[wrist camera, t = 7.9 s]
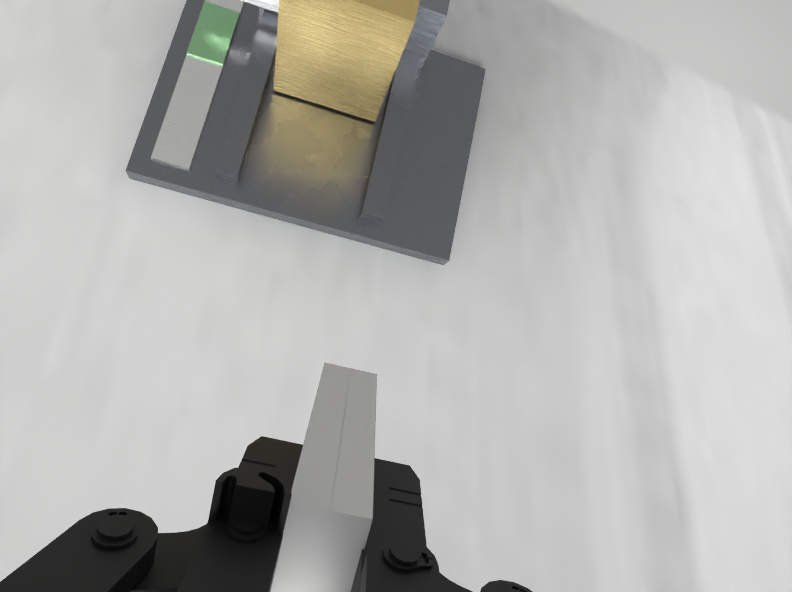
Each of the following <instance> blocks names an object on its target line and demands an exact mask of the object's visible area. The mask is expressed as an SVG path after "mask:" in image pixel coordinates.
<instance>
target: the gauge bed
mask: <svg viewBox="0 0 792 592" xmlns="http://www.w3.org/2000/svg"><path fill="white" fill-rule="evenodd" d="M449 1H450V0H420V2H419V7H418V11H417V15H416V19H415V23H414V26H413V28H412V31H411V33H410V36H409V38H408V41H407V43H406V46H405V48H404V51H403V53H402V56H401V58H400V61H399V63H398V66H397V68H396V71H395V73H394V76H393V78H392V81H391V83H390V86H389V88H388V91H387V93H386V96H385V98H384V101H383V103H382V106H381V108H380V111H379V113H378V116H377V118H376V121H375V122H373V121H370V120H367V119H363V118H360V117H357V116H354V115H351V114H348V113H344V112H341V111H338V110H335V109H332V108H328V107H325V106H322V105H319V104H316V103H313V102H309V101H306V100H303V99H300V98H297V97H293V96H290V95H287V94H284V93H281V92H277V91H274V90H273V89H274V73H275V58H276V42H277V26H278V13H277V12H274V11H271V10H268V9H265V8H262V7H259V6H256V5H253V4H250V3H247V2H244V1H241V0H187V1H186V4H185V7H184V10H183V12H182V15H181V18H180V21H179V23H178V26H177V29H176V32H175V35H174V37H173V40H172V43H171V46H170V49H169V51H168V54H167V57H166V60H165V63H164V65H163V68H162V71H161V74H160V77H159V79H158V82H157V85H156V88H155V90H154V93H153V96H152V99H151V102H150V104H149V107H148V110H147V113H146V116H145V118H144V121H143V124H142V127H141V130H140V132H139V135H138V138H137V141H136V143H135V146H134V149H133V152H132V155H131V157H130V160H129V163H128V166H127V169H126V172H127V174H128V176H129V178H130V179H134V180H137V181H141V182H145V183H148V184H152V185H156V186H159V187H163V188H166V189H170V190H174V191H177V192H181V193H185V194H188V195H192V196H195V197H199V198H203V199H206V200H210V201H214V202H217V203H221V204H224V205H228V206H232V207H235V208H239V209H242V210H246V211H250V212H253V213H257V214H261V215H264V216H268V217H271V218H275V219H279V220H282V221H286V222H290V223H293V224H297V225H300V226H304V227H308V228H311V229H315V230H319V231H322V232H326V233H329V234H333V235H337V236H340V237H344V238H347V239H351V240H355V241H358V242H362V243H366V244H369V245H373V246H376V247H380V248H384V249H387V250H391V251H395V252H398V253H402V254H405V255H409V256H413V257H416V258H420V259H423V260H427V261H431V262H434V263H438V264H442V265H444V264H446V263H447V262H448V261H449V258H450V253H451V247H452V242H453V237H454V232H455V226H456V221H457V216H458V211H459V205H460V200H461V195H462V190H463V185H464V179H465V174H466V169H467V164H468V158H469V153H470V148H471V143H472V137H473V132H474V127H475V122H476V116H477V111H478V106H479V101H480V95H481V90H482V85H483V80H484V75H485V69H484V68H481V67H478V66H475V65H472V64H469V63H466V62H463V61H460V60H457V59H454V58H451V57H448V56H445V55H443V54H440V53H437V52H434V51H431V50H430V49H431V47H432V45H433V43H434V41H435V39H436V36H437V34H438V32H439V30H440V28H441V26H442V24H443V21H444V19H445V17H446V15H447V10H448V5H449Z"/></svg>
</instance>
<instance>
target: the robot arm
mask: <svg viewBox="0 0 792 592" xmlns="http://www.w3.org/2000/svg"><path fill="white" fill-rule="evenodd" d="M376 388H377V374H373V373H369V372H364V371H360V370H355V369H351V368H346V367H342V366H337V365H333V364H328V363H324V367H323V371H322V375H321V379H320V383H319V386H318V390H317V394H316V398H315V402H314V406H313V409H312V413H311V417H310V421H309V425H308V429H307V432H306V436H305V440H304V444H303V445H301V444H296V443H291V442H287V441H282V440H277V439H272V438H267V437H263V436H262V437H260V438H259V439H257V440H256V441H254V442H253V443H251V444H250V445H248V447H247V449H246V452H245V454H244V456H243V458H242V461H241V463H240V465H239V468H233V469H231V470H229V471H227V472H224V473H222V475H221V476H220V477H219V478H218V479H217V480H216V483H215V489H214V494H213V499H212V504H211V509H210V515H209V520H208V523H207V524H206V525H204V526H202V527H200V528H198V529H194V530H191V531H187V532H178V533H158V527H157V525H156V524H155V523H154V521H153V520H152V518H150V517H149V516H147V515H145V514H143V513H142V512H139V511H135V510H131V509H126V508H119V509H106V510H102V511H98V512H94V513H92V514H90V515H88V516H86V517H84V518H83V519H81V520H79V521H78V522H77V523H75V524H74V525H73V526H71V527H70V528H69V529H68V530H66V531H65V532H64V533H62V534H61V535H60V536H59V537H57V538H56V539H55V540H53V541H52V542H51V543H50V544H48V545H47V546H46V547H45V548H43V549H42V550H41V551H39V552H38V553H37V554H36V555H34V556H33V557H32V558H30V559H29V560H28V561H27V562H25V563H24V564H23V565H21V566H20V567H19V568H18V569H16V570H15V571H14V572H12V573H11V574H10V575H9V576H7V577H6V578H5V579H3V580H2V581H1V582H0V592H472V591H470V590H468V589H465V588H463V587H461V586H459V585H457V584H455V583H453V582H452V581H450V580H448V579H447V578H446V577H444V576H443V575H442V574H441V573H440V572H439V566H438V563H437V561H436V558H435V556H434V555H433V554H432V552H431V551H430V550H429V549H428V548H427V547H426V537H425V528H424V518H423V508H422V499H421V489H420V480H419V478H418V477H417V475H416V474H415V472H414V471H413V470H412V468H411V467H410V466H409V465H404V464H399V463H395V462H390V461H385V460H380V459H375V458H374V456H375V422H376ZM480 592H532V591H531V590H529V589H528V588H526V587H523V586H521V585H519V584H517V583H514V582H509V581H503V580H498V581H492V582H489V583H487V584H486V585H485V586H483V587H482V588H481V591H480Z"/></svg>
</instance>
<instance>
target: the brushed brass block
mask: <svg viewBox="0 0 792 592" xmlns="http://www.w3.org/2000/svg"><path fill="white" fill-rule="evenodd" d="M241 1H244V2H247V3H250V4H253V5H256V6H259V7H262V8H265V9H268V10H271V11H274V12H277V13H278V26H277V42H276V58H275V73H274V89H273V90H274V91H277V92H281V93H284V94H287V95H290V96H293V97H297V98H300V99H303V100H306V101H309V102H313V103H316V104H319V105H322V106H325V107H328V108H332V109H335V110H338V111H341V112H344V113H348V114H351V115H354V116H357V117H360V118H363V119H367V120H370V121H373V122H375V121H376V118H377V116H378V113H379V111H380V108H381V106H382V103H383V101H384V98H385V96H386V93H387V91H388V88H389V86H390V83H391V81H392V78H393V76H394V73H395V71H396V68H397V66H398V63H399V61H400V58H401V56H402V53H403V51H404V48H405V46H406V43H407V41H408V38H409V36H410V33H411V31H412V28H413V26H414V23H415V19H416V15H417V11H418V7H419V2H420V0H241Z"/></svg>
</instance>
